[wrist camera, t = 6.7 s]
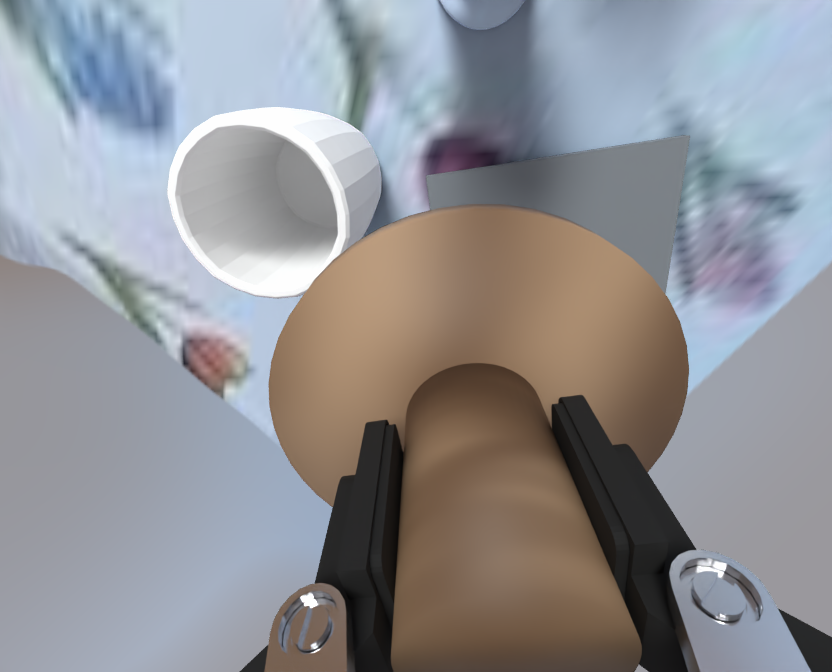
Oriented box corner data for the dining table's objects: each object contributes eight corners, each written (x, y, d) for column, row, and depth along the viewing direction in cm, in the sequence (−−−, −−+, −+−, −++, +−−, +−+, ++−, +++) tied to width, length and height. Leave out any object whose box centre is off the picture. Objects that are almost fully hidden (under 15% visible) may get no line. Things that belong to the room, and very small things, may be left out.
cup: (253, 132, 28) (115, 141, 16) (364, 93, 27) (308, 69, 15) (302, 245, 32) (221, 324, 20) (401, 216, 31) (382, 281, 18)
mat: (683, 135, 28) (690, 135, 27) (650, 355, 36) (655, 360, 35) (426, 175, 29) (426, 176, 29) (452, 376, 38) (452, 381, 37)
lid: (695, 158, 9) (1239, 231, 3) (651, 505, 15) (813, 779, 9) (215, 250, 10) (-84, 433, 4) (339, 538, 16) (286, 798, 10)
